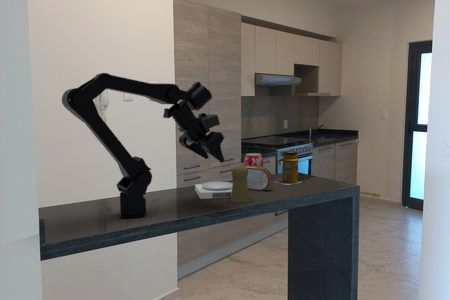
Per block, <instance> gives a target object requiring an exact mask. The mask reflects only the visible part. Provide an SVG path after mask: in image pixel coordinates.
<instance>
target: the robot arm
mask: <svg viewBox="0 0 450 300" xmlns="http://www.w3.org/2000/svg"><path fill="white" fill-rule="evenodd" d="M105 90H110V91H114V92H119V93H125V94H130V95H134V96H140V97H144V98H146V99H149V100H150V101H152V102H155V103H158V104H160V105H171V106H170V107H169V108H167V107H166V108H164V109H163V115H162V117H163V118H164V119H170V118H171V117H172V119H173V121H175V123H176V124H177V126H178V131H179V132H180V133H182V134H181V135H180V136H179V138H178V144H179V145H181V147H183V148H185V149H187V150H189V151H190V152H192V153H194V154H196V155H198V156H200V158H203V159H205V160H208V159H209V156H211V157H212V158H214V159H215V160H217V161H218V162H219V163H221V164H222V163H224V161H225V157H224V155H223V151H222V147H221V145H222V144H223V142H224V139H225V136H224V134H223V133H222V132H220V131H211V128H213V127H216V126H220V125H221V123H220V120H219V115H218V114H217V113H215V114H213V113H211V114H206V112H200V113H199V114H198V116H196V114H194V112H193V111H200V110H201V109H202V108H203V107H204V106H206V105H207V104H208V103H209V102H210V101H211V100H212V99H213V95H212V92H211V90H210V89H208V88H207V87H206V86H204V85H203V84H202V83H201V82H200V81H195V82H194V83H193V84H192V85H191V87H189V88H188V89H187V90H183V89H180V88H179V86H178V85H177V84H175V83H161V82H160V83H159V82H158V83H152V82H151V83H150V82H145V81H141V80H136V79H132V78H126V77H124V76H123V77H122V76H118V75H113V74H110V73H107V72H100V73H98V74H96V75H95V76H94V77H92V78H90V80H88V81H86V82H85V83H83V84H81V85H80V86H78V87H77V88H70V89H67V90H65V91H64V92H63V93H62V94H63V95H62V96H61V103H62V105H63V107H64V108H65V109H66V110H68V112H70V114H72V115H74V116H75V118H76V119H79V120H80V121H81V122H83V123H84V124H85V125H86V127H87V128H88V129H89V130H90V131H91V133H92V134H93V136H95V138H96V139H97V141H99V143H100V144H101V145H102V146H103V147H104V148H105V150H106V151H107V152H108V153H109V155H110V156H111V157H112V158H113V160H114V161H115V162H116V163H117V165H118V169H119V172H120V173H121V175H122V176H123V177H122V178H121V179H120V180H119V181H118V182H117V183H116V187H117V190H118V192H119V204H120V205H119V206H120V207H119V209H120V213H119V218H120V219H128V218H131V219H132V218H144V217H145V214H147V200H146V196H145V195H146V194H147V190H148V187H149V185H151V183H152V180H153V179H152V178H153V174H152V172H151V171H152V168H151V167H149V166H148V165H147V164H146V161H145V160H144V158H142V157H139V156H132V155H131V153H130V152H129V151H128V150H127V149H126V147H125V146H124V145H123V143H122V142H121V140H119V138H118V137H117V136H116V135H115V133H114V132H113V131H112V130H111V128H110V127H109V125H108V124H107V123H106V122H105V121H104V119H103V118H102V117H101V116H100V113H99V110H98V109H97V106H96V104H95V102H94V100H95V99H96V98H97V97H99V96H100V95H101V94H102V93H103V92H105ZM179 101H180V102H179Z"/></svg>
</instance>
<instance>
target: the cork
mask: <svg viewBox="0 0 450 300" xmlns="http://www.w3.org/2000/svg"><path fill="white" fill-rule="evenodd" d="M232 175H233V177H234V178H233V179H232V183H233V186H232V194H231V197H230V202H232V203H234V204H246V203H249V202H250V193H249V189H248V185H247V175H248V169H247V167H244V166H242V165H237V166H234V167H232V169H231V176H232Z"/></svg>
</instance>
